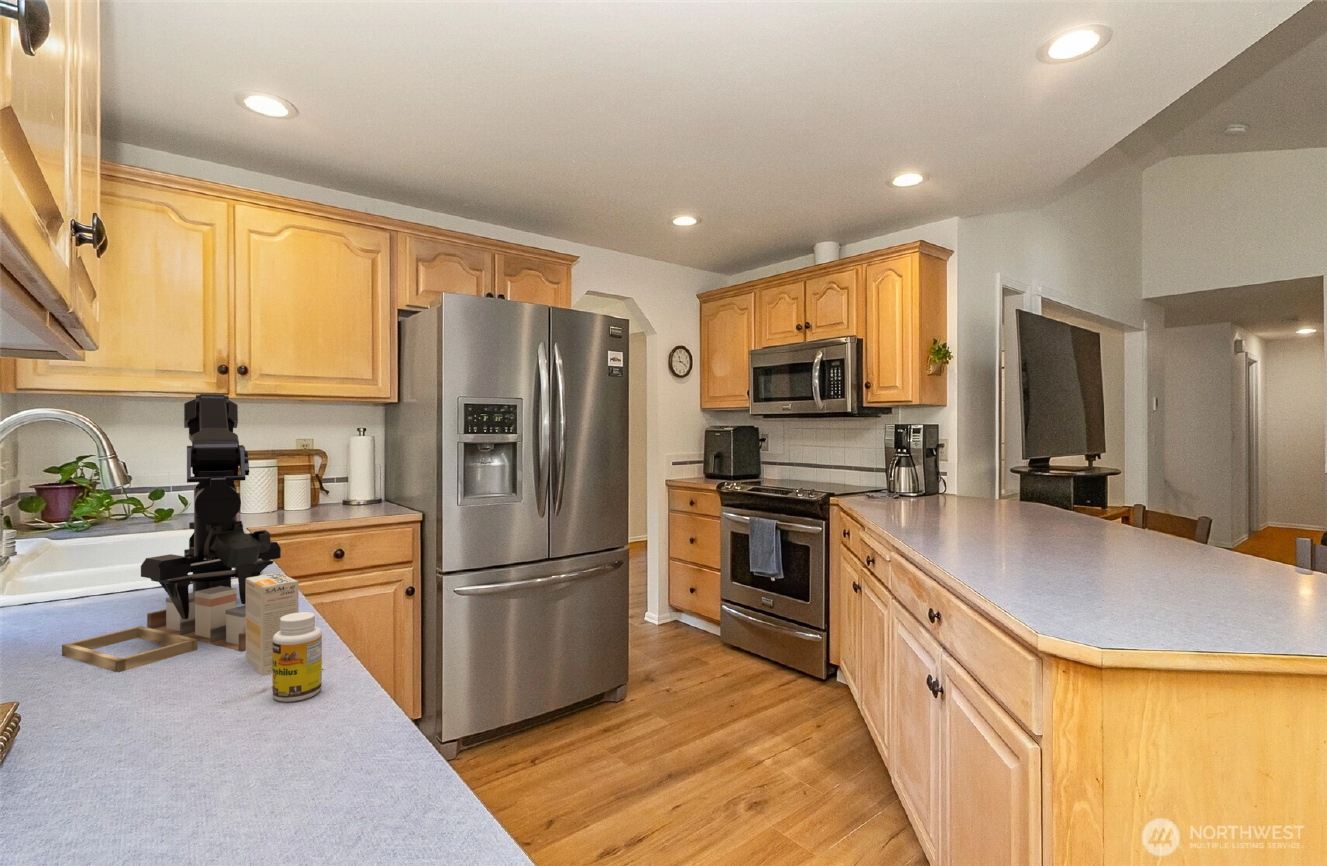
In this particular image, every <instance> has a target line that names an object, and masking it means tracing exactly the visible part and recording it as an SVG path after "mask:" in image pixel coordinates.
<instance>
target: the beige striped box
mask: <svg viewBox="0 0 1327 866" xmlns="http://www.w3.org/2000/svg"><path fill="white" fill-rule="evenodd" d="M237 595H238V594H237V588H235V587H232V588H230V587H224V586H219V587H214V588H209V589H205V590H200V591H195V635H198V636H203V637H207V638H210V629H212V628H216V627H220V626H224V625H226V610H228V609H232V608H236V607H237V601H238V598H237Z"/></svg>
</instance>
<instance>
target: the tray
mask: <svg viewBox="0 0 1327 866" xmlns="http://www.w3.org/2000/svg"><path fill="white" fill-rule="evenodd" d="M134 639H135V640H136V639H142V640H146V641H150V642H154V643H157V644H161V645H165V646H163V647H158V648H156V649H152V650H148V651H144V652H141V653H137V654H133V655H130V656H129V655H128V656H126V657H119V656H115V655H112V654H108V653H104V652H101V651H97V650H95V649H100V648H103V647H107V646H111V645H115V644H119V643H123V642H126V641H130V640H134ZM194 651H198V641H197V639H193V638H189V637H185V636H181V635H177V634H172V633H168V632H164V631H160V630H156V629H151V628H147V626H142V625H140V626H135V627H131V628H126V629H123V630H119V631H118V630H117V631H115V632H114V631H113V632H110V633H105V634H103V635H98V636H93V637H90V638H86V639H81V640H77V641H73V642H70V643H65V644H61V656H63V657H65V658H69V659H73V660H76V661H79V662H82V663H86V664H89V665H92V666H96V667H99V668H103V669H106V670H109V671H114V673H115V672H116V673H121V672H125V671H128V670H131V669H132V670H133V669H135V668H138V667H141V666H146V665H149V664H152V663H156V662H159V661H163V660H166V659H170V658H173V657H177V656H179V655H180V656H181V655H184V654H187V653H190V652H194Z"/></svg>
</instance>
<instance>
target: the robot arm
mask: <svg viewBox="0 0 1327 866" xmlns="http://www.w3.org/2000/svg"><path fill="white" fill-rule="evenodd" d="M238 405H239V404H237V403H235V402H234V401H231V400H230V399H229V395H225V394H220V393H219V394H216V393H215V394H214V393H213V394H211V393H200V394H196V395H195V398H194V399H191V400H189V401H187V402H185V403H183V426H184V427H183V428H184V429H188V439H189V441H190V443H191V445H186V483H187V484H188V483H197V484H196V485H195V487H194V488H193V521H191V522H189V524H188V525H189V527H188V528H189V529H190V530H193V533H191V536H190V537H189V539H188V548H186V549H184V550H183V552H184V555H179V554H178V555H177V554H173V553H172V554H165V555H157V556H151V557H146V558H145V559H144V561H143V562H142V563H141V565H140V577H141V578H147V579H150V581H152V582H157V583H159V585H160V586H161V587H162V588H163V589H164V591H165V592H166V594H167V595H168V596H169V597H170V598H171V600H172V602H173V604H174V605H175V607H176V609H177V611H178V613H179V614H180V616H181V618H182V619H188V616H189V593H190V592H189V586H190V584H191V583H192V592H193V593H195V591H200V590H205V589H209V588H214V587H219V586H224V587H230V588H233V587H232V579H233V578H237V581H238V593H239V600H240V603H241V605H243V606H244V605H246V578H250V577H255V576H261V573H262V572H263V571H264V570H265V569H266V568H267V567H269V566H270V565H273V564H274V560H278V559H281V558H282V548H281V546H280V544H279V543H278V542H277V541H272V540H271V532H269V531H268V530H267V529H261V530H257V531H254V532H250V533H246V532H245V531H244V525H243V521H242V520H238V519H237V517H238V513H239V511H240V509H241V506H242V501H241V497H240V494H239V493H238V491H237V489H238V487H237V485H236V484H235V482H238V481H239V482H240V481H246V476H249V475H250V462H249V451H247V450H246V447H245V446H244V445H243V444H240V441H239V436H238V434H237V433H235V432H234V429H237V428H238V424H239V415H238V414H239V411H238V410H239V409H238V407H239V406H238ZM239 472H240V474H239ZM192 475H193V476H192ZM190 573H191V574H190ZM169 597H168V598H169Z"/></svg>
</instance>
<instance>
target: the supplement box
mask: <svg viewBox="0 0 1327 866" xmlns="http://www.w3.org/2000/svg"><path fill="white" fill-rule="evenodd" d="M292 613H299V581H298V580H296V579H294V578H292V577H290V576H287V575H285V574H284V573H281V572H275V573H269V574H268V573H267V574H263V575H261V574H260V575H259V576H255V577H250V578H246V651H245V662H246V663H247V664H248V665H249V666H250V667H251V668H253V670H255V671H257V673H259V674H260V675H261V676H266V675H271V674H273V636H274V635H275V634H276V633H277V632H279V631H280V627H279V626H280V618H281V617H283V616H285V615H288V614H292Z"/></svg>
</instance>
